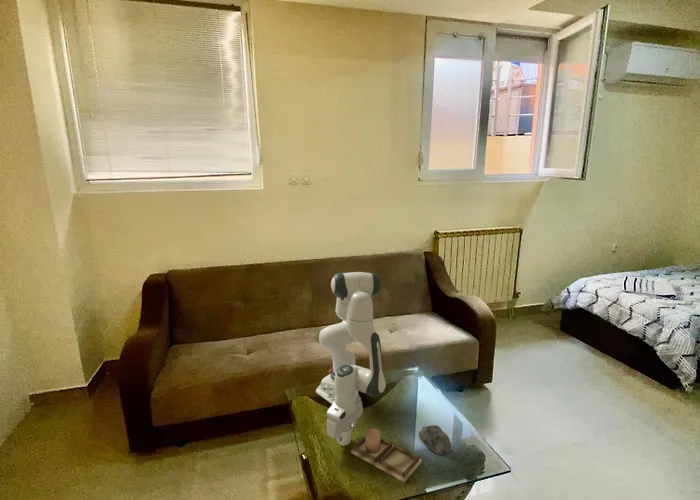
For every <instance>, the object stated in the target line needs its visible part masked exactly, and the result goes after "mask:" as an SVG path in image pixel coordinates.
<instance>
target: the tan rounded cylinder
mask: <svg viewBox="0 0 700 500" xmlns="http://www.w3.org/2000/svg"><path fill="white" fill-rule="evenodd" d="M365 436H366V451H367V452H369V453H372V454H375V453H378V452H379V451H380V438H381V430H379V429H378V428H373V427H372V428H368V429H367V430H365Z"/></svg>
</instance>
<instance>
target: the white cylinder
mask: <svg viewBox="0 0 700 500" xmlns="http://www.w3.org/2000/svg"><path fill="white" fill-rule="evenodd" d="M352 431H353V430H352V425H350V426H349V427H347V428H346V429H345V430H344V431H343V432H342V433H340V437H342V441H340V442H338V443H339V444H340V446H341V445H342V446H343V447H346V446H348V444H349V445H350V444H351V439H352ZM338 443H337V444H338ZM339 444H338V445H339ZM345 445H346V446H345Z"/></svg>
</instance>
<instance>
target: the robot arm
mask: <svg viewBox="0 0 700 500" xmlns="http://www.w3.org/2000/svg"><path fill="white" fill-rule="evenodd" d="M381 280H382V279H381V277H380V276H379V274H377V273H375V272H364V271H353V272H351V271H350V272H337V273H335V274H334V275H333V276H332V277H331V281H330V288H331V292H332V294H333V295H334V296H335V297H336V302H335V303H336V304H335V310H334V311H335V314H336V316H337V317H338V319H341V320H342V321H341V322H338V323H334V324H330V325H328V326H326V327H324V328H322V329H321V330H320V332H319V335H318V341H319V344H320V345H321V346H322V347H323V348H324V349H325V350H327V351H329V353H330V354H331V358H332V367H331V368H330V369H329V370H328V373H329V374H327V376H324V377H323V378H322V380H321V381H320V384H319V386H318V387H317V388H316V389H315V394H317V395H319V396H320V397H322V399H324V400H326V401H327V402H329V404H331V406H330V407H329V408H328V409H327V411H326V416H327V419H326V433H327V435H328V437H330V438H332V439H335V441H336V443H337V442H340V441H342V437H340V433H342V432H343V431H344V430H345V429H346V428H347V427H349V426H350V425H352V431H354V430H356V425H357V422H358V419H359V418H361V417H362V415H363V413H364V408H363V402H362V398H361V396H360V395H359V392H360V393H364V394H366V395H368V396H370V397H372V398H376V397H379V396H380V395H383V393H384V391H385V389H386V385H387V382H386V381H387V380H386V376H385V371H384V364H383V355H382V352H383V351H382V344H381V339H380V335H379V334H378V333H377V331H376V328H375V326H374V307H373V306H374V305H373V304H374V303H373V299H372V297H374V296H375V297H376V296H378V295H379V294H380V292H381V288H382V281H381ZM353 343H360V344H361V345H362V346H363V347H364V348H365V350H366V351H367V353H368V356H369V367H370V369H369V368H365V367H363V366H361V365H360V366H359V365H356V355H355V354H354V352H353V351H351V350H350V349H347V346H348V345H351V344H353Z"/></svg>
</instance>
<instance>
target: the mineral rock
mask: <svg viewBox="0 0 700 500" xmlns="http://www.w3.org/2000/svg"><path fill="white" fill-rule="evenodd" d="M418 437H419V439H420V440H421V442H422V443H423V444H424V445H426V446H427V448H429V449H430V450H432V451H433V452H435V453H436V454H438V455H439V456H440V455H441V456H444V455H447V454H449V452H450V451H452V450H451V448H452V443H451V440H450V438H449V436H448V434H447V433H446V432H445V431H443V429H442V428H441V426H439V425H437V424H432V425H429V424H428V425H427V426H426V425H425V426H424V425H423V426H422V428H421V430H420V431H418Z"/></svg>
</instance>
